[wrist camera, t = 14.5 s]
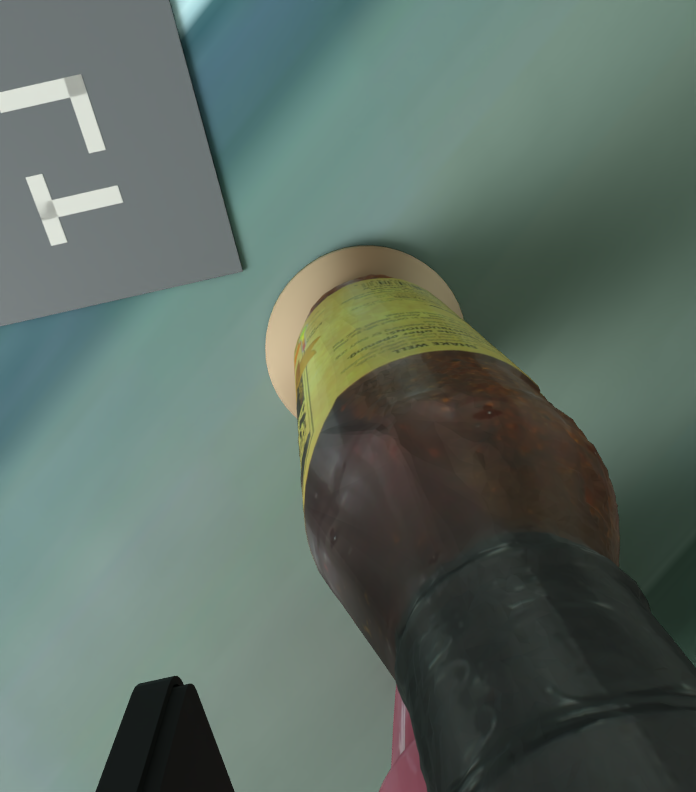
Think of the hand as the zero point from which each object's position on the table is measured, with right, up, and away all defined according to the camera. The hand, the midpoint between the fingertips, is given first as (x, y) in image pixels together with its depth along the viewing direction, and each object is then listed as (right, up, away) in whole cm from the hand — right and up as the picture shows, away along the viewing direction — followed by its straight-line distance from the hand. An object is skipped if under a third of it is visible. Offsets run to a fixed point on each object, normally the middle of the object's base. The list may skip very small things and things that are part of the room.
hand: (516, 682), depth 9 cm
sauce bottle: (-1, +6, +15) cm, 16 cm away
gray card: (-12, +12, +12) cm, 21 cm away
